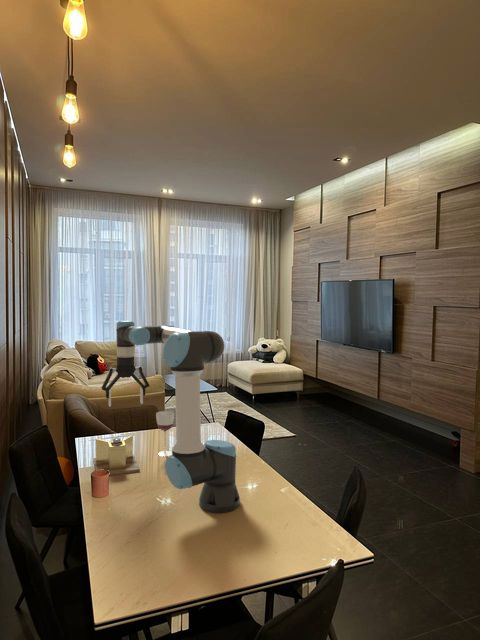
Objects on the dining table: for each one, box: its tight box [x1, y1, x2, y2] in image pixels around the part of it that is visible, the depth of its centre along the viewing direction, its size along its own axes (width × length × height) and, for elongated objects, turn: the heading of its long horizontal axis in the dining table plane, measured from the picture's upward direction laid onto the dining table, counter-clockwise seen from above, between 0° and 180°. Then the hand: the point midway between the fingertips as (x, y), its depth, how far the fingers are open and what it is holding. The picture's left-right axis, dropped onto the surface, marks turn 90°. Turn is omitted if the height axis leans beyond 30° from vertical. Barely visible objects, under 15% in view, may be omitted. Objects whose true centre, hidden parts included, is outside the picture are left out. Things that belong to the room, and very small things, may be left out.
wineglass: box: [155, 410, 175, 457], centre depth 216 cm, size 8×9×20 cm
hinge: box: [95, 434, 134, 469], centre depth 200 cm, size 13×17×10 cm
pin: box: [112, 437, 122, 446], centre depth 197 cm, size 3×3×12 cm
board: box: [93, 454, 141, 476], centre depth 200 cm, size 20×18×1 cm
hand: (125, 404), depth 194 cm, fingers open, 13 cm apart
